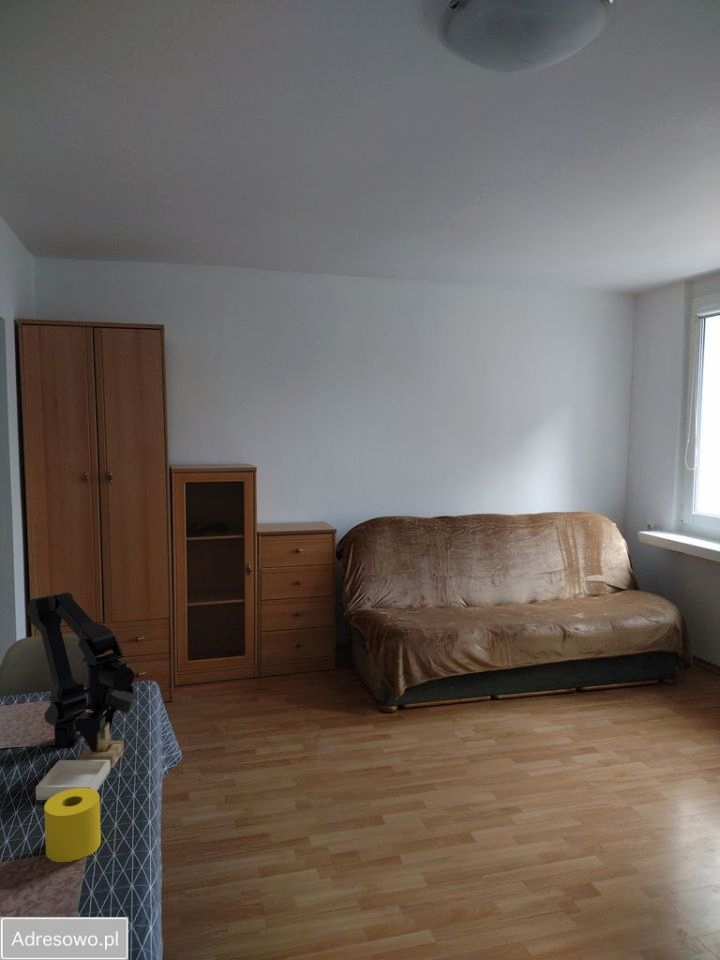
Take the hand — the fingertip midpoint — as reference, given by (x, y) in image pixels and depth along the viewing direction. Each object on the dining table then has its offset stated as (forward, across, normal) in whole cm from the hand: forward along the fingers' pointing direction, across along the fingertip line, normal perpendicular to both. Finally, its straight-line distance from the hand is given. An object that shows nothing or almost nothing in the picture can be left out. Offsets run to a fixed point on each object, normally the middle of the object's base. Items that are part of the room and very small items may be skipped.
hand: (101, 742), depth 169 cm
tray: (+4, -12, +2) cm, 13 cm away
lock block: (+4, 0, 0) cm, 4 cm away
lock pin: (+4, 0, 0) cm, 4 cm away
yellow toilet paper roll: (+5, -35, -7) cm, 36 cm away
